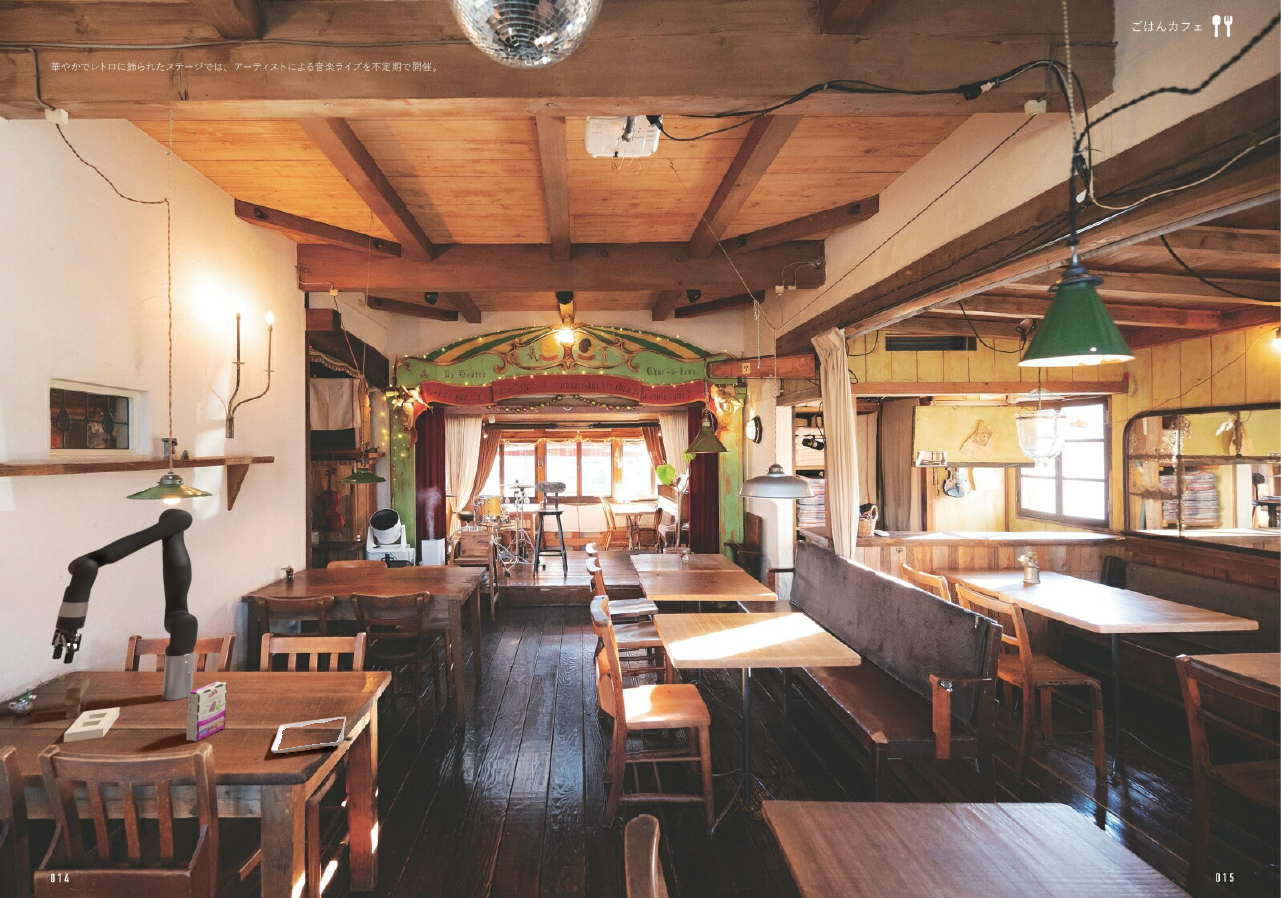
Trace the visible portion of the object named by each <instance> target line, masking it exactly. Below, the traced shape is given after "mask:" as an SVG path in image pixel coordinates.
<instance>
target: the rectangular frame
mask: <svg viewBox="0 0 1281 898" xmlns="http://www.w3.org/2000/svg"><path fill="white" fill-rule="evenodd" d="M337 719H344V722H343V726H342V727H343V728H342V730H341V733H340V735H339V737H338V740H337V741H336V742H330V743H320V744H312V745H305V746H298V747H292V748H286V749H280V750H278V747H279V744H280V743H281V739H282V735H283V734H282V731H283V730H285V729H286V728H290V727H303V726H306V725H310V724H314V723H325V722H328V721H332V720H337ZM346 721H347V716H338V717H329V718H322V719H313V720H306V721H299V722H293V723H291V722H290V723H284V724H280V725H279V726H278V729H277V732H276V736H275V738H274V741H273V743H272V746H271V749H270V750H271V752H272V753H274V754H276V753H283V752H288V751H295V750H300V749H305V748H310V747H317V746H318V747H319V746H333V747H337V746H338V745H340V744H342V743H343V741H344V738H345V724H346Z"/></svg>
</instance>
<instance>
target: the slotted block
mask: <svg viewBox="0 0 1281 898" xmlns="http://www.w3.org/2000/svg"><path fill="white" fill-rule="evenodd" d="M120 709H121V708H120V707H119V706H118V707H112V708H101V709H95V710H93V709H92V710H87V711H85V710H84V711H82V713H80V715H79V717H78V718H76V720H75V721H74V722H73V723H72V724H71V726H70V727H69V728H68V729H67V730H66V731H65V732H64V733H63V743H64V744H65V742H66V743H73V742H78V741H80V742H81V741H85V740H94V739H95V740H96V739H100V738H102V739H103V738H104V736H105V735H106V734H107V733H108V731H109V730H110V728H111V727H112V726H113V724H114V723H115V722H116V720H117V719H118V718H119V716H120Z"/></svg>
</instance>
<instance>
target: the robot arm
mask: <svg viewBox="0 0 1281 898" xmlns="http://www.w3.org/2000/svg"><path fill="white" fill-rule="evenodd" d="M193 520H194V519H193V515H192V514H191V513H190V511H189V512H188V511H187V510H184V509H179V508H168V509H166V510H164V511H163V512H161V513H160V515H159V517H158V521H157V523H155V524H153V525H151V526H149V527H147V528H144V529H141V530H139V531H137V532H134V533H131V534H128V535H125V536H123V537H120V538H118V539H116V540H114V541H112V542H110V543H108V544H107V545H104V546H103V547H101V548H99V549H96V550H93V551H90V552H88V553H85V554H83V555H80V556H78V557H76V558H75V559H73V560H72V561H71V562H70V563H69V564H68V567H67V572H68V574H70V575H71V579H70V582H69V584H68V585H67V586H66V588H65V590H64V593H63V596H62V597H63V598H62V601H61V605H60V607H59V610H58V615H57V619H56V623H55V630H54V634H53V638H52V640H51V646H52V647H53V654H52V658H51V659H53V660H60V659H61V658H62V655H63V650H64V649H65V654H64V659H63V664H64V665H65V664H66V665H68V664H72V663H73V661H74V656H75V653H76V652H79V651H80V647H81V641H82V636H83V634H82V633H78V631H79V630H80V629H81V630H82V629H83V628H84V627H85V624H86V618H87V614H88V611H89V601H90V597H91V593H92V588H93V586H94V584H95V581H96V579H97V577H98V574H99V569H100V568H102V567H104V566H107V565H113V564H115V563H118V562H119V561H121V560H123V559H124V558H127V557H128V556H130V555H132V554H134V553H136V552H138V551H139V550H143V548H144V549H145V548H147V546H150V545H152V544H154V543H156V542H160V540H161V544H162V549H161V550H162V554H161V555H162V557H161V558H162V579H163V591H164V593H163V594H164V600H165V605H164V606H165V607H164V617H163V618H164V619H163V628H164V630H165V631H166V632H167V633H168V634H170V635H169V642H168V643H169V644H168V646H166V647H165V652H164V665H163V667H164V670H163V682H162V683H163V684H162V699H163V700H165V701H177V700H180V699H181V700H182V699H185V698H188V692H191V691H193V690H194V689H193V687H194V673H195V672H194V656H195V647H196V644H197V640H198V630H199V623H198V618H197V617H196V616H195V615H193V614H192V613H189V607H188V595H189V594H188V593H189V590H190V587H191V584H192V580H193V579H192V578H193V572H192V571H193V570H192V569H193V568H192V562H191V557H190V554H189V552H188V549H187V547H186V543H185V531H186V530H189V528H190V527H191V526H192V524H193Z"/></svg>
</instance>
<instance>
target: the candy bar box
mask: <svg viewBox="0 0 1281 898" xmlns="http://www.w3.org/2000/svg"><path fill="white" fill-rule="evenodd" d="M227 688H228V684H227V682H223V681H217V680H216V681H214V682H212V683H209V684H207V685H203V686H202V687H198V688H196V689H193V690H192V691H191V692H188V697H187V710H186V711H187V715H186V736H185V737H186V741H189V742H196V741H197V740H199V739H200V741H201V739H202V740H204V739H206V738H207V737H206V736H208V735H210V736H212V735H214V734H216V733H215V732H217V731H219V732H220V730H221V729H223V728H225V729H226V715H227V714H226V713H227V711H226V710H227ZM223 730H224V729H223ZM221 731H222V730H221ZM213 733H214V734H213ZM217 733H218V732H217ZM211 734H212V735H211ZM205 737H206V738H205ZM208 737H209V736H208ZM197 742H198V741H197Z"/></svg>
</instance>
